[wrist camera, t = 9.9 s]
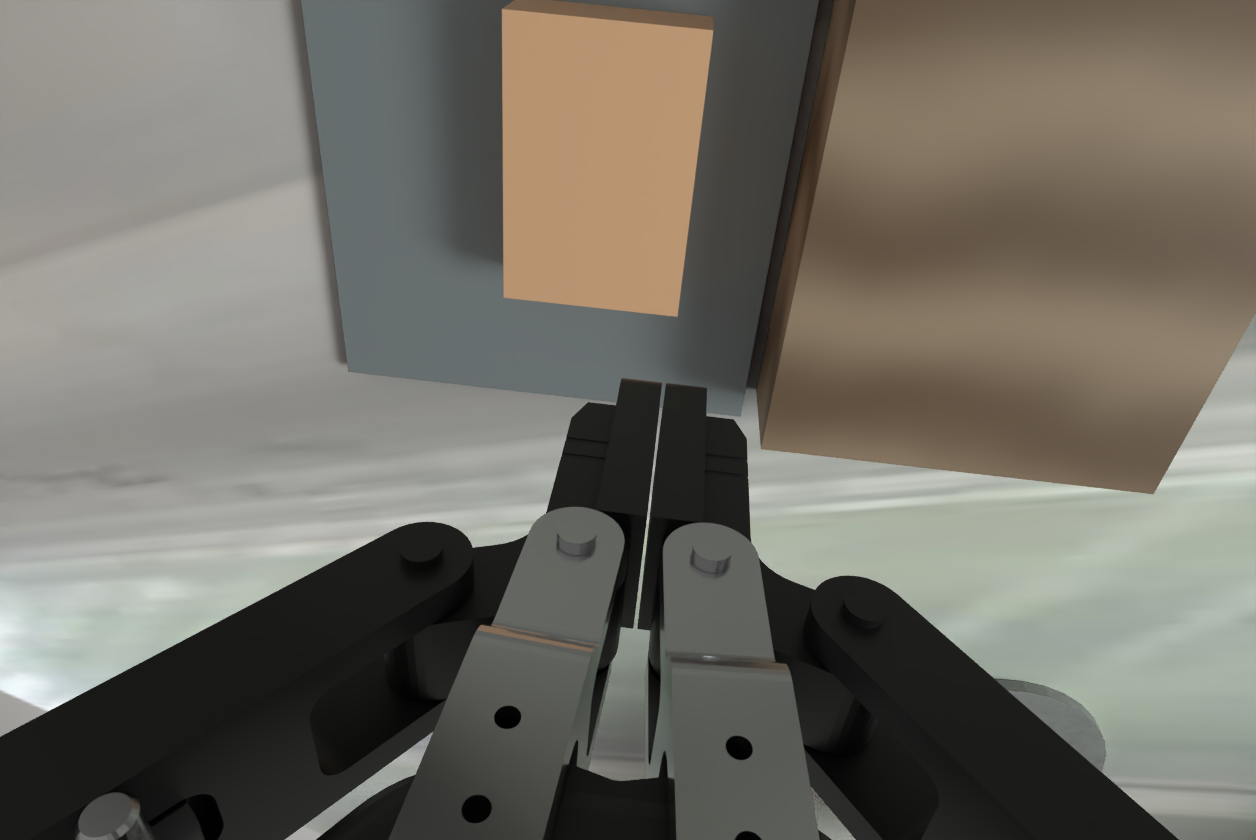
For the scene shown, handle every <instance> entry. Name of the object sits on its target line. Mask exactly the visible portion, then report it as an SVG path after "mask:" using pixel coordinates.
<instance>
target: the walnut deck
mask: <svg viewBox="0 0 1256 840" xmlns="http://www.w3.org/2000/svg"><path fill="white" fill-rule="evenodd" d="M1255 313H1256V0H834V1H833V6H832V11H831V16H830V21H829V26H828V31H827V36H826V41H825V46H824V51H823V56H822V61H821V66H820V72H819V77H818V82H817V87H816V92H815V97H814V102H813V107H812V112H811V117H810V122H809V127H808V132H807V137H806V142H805V147H804V152H803V157H802V162H801V167H800V173H799V178H798V183H797V188H796V193H795V198H794V203H793V208H792V213H791V218H790V223H789V228H788V233H787V238H786V243H785V248H784V253H783V258H782V263H781V268H780V274H779V279H778V284H777V289H776V294H775V299H774V304H773V309H772V314H771V319H770V324H769V329H768V334H767V339H766V344H765V349H764V354H763V359H762V364H761V369H760V374H759V380H758V385H757V390H756V392H757V404H758V417H759V429H760V441H761V449H766V450H775V451H783V452H792V453H801V454H809V455H818V456H827V457H836V458H844V459H853V460H862V461H870V462H879V463H888V464H896V465H905V466H914V467H922V468H931V469H940V470H949V471H957V472H966V473H975V474H983V475H992V476H1001V477H1009V478H1018V479H1027V480H1035V481H1044V482H1053V483H1061V484H1070V485H1079V486H1088V487H1096V488H1105V489H1114V490H1122V491H1131V492H1140V493H1148V494H1154V492H1155V490H1156V489H1157V487H1158V485H1159V483H1160V482H1161V480H1162V478H1163V476H1164V474H1165V473H1166V471H1167V469H1168V467H1169V466H1170V464H1171V462H1172V460H1173V459H1174V457H1175V455H1176V453H1177V451H1178V450H1179V448H1180V446H1181V444H1182V443H1183V441H1184V439H1185V437H1186V435H1187V434H1188V432H1189V430H1190V428H1191V427H1192V425H1193V423H1194V421H1195V420H1196V418H1197V416H1198V414H1199V412H1200V411H1201V409H1202V407H1203V405H1204V404H1205V402H1206V400H1207V398H1208V396H1209V395H1210V393H1211V391H1212V389H1213V388H1214V386H1215V384H1216V382H1217V381H1218V379H1219V377H1220V375H1221V373H1222V372H1223V370H1224V368H1225V366H1226V365H1227V363H1228V361H1229V359H1230V357H1231V356H1232V354H1233V352H1234V350H1235V349H1236V347H1237V345H1238V343H1239V342H1240V340H1241V338H1242V336H1243V334H1244V333H1245V331H1246V329H1247V327H1248V326H1249V324H1250V322H1251V320H1252V318H1253V317H1254V315H1255Z"/></svg>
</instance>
